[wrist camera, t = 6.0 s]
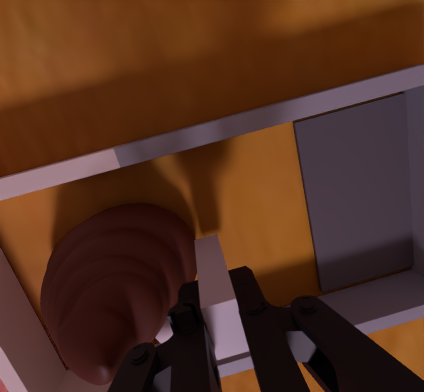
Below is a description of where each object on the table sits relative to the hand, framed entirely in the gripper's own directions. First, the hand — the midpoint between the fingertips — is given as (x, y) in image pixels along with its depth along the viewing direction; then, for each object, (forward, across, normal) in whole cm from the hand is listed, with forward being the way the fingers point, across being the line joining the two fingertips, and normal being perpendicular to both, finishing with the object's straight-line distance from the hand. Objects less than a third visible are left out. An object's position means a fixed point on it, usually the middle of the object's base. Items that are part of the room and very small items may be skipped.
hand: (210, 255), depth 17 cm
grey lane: (+2, +6, 0) cm, 7 cm away
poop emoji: (+2, -6, 0) cm, 6 cm away
